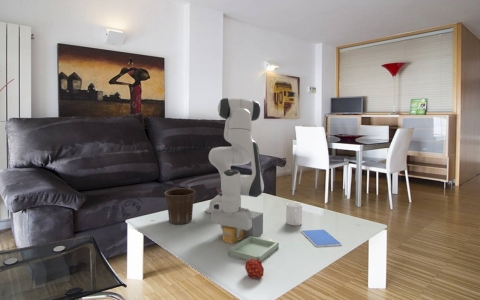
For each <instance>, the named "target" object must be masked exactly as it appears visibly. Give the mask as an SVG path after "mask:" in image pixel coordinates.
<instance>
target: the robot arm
mask: <svg viewBox="0 0 480 300" xmlns="http://www.w3.org/2000/svg"><path fill="white" fill-rule="evenodd" d="M261 111H262V108H261V104H260V102H258V101H257V100H250V99H245V98H228V97H226V98H225V97H223V98H222V99H220V100H219V103H218V105H217V113H218V115H219V116H220V118H222V119H225V123H224V124H225V125H224V131H223V138H224V140H225V141H226V142H228V143H229V144H231V146H218V147H213V148H211V150H210V151H209V153H208V160H209V162H210V164H211V165H212V166H213V167H215V168H216V169H217V170H218V173H219V176H220V184H221V185H220V188H219V189H217V192H216V193H218V194H217V195H216V196H215V197H214V198H212V199H211V200H210V201H209V205H208V207H206V208H205V210H204V211H205V212H206V213H208V214H209V213H210V220H211V223H212V224H215V225H218V226H219V225H220V228H221V231H222V232H223V228H224V227H225V226H228V227H233V228H237V231H238V232H237V233H235V237H236V238H239V237H240V232H241V231H242V230H249V229H251V228H252V218H251V216H252V213H251V211H252V210H250V209H249V208H245V207H242V198H241V197H242V196H246V197H251V198H252V197H253V198H257V197H259V196H261V195H262V194H263V192H264V188H265V185H264V179H263V175H262V166H261V157H260V148H259V146H258V143H257V141H255V140H254V139H253V136H252V131H253V130H252V124H253V123H252V122H255V121H257V120H258V119H259V118H260V115H261ZM250 163H251V164H250ZM247 164H250V165H251V172H252V173H251V174H250V175H249V174H241V173H240V171H239V170H238V169H233V168H231V167H232V166H243V165H244V166H245V165H247Z"/></svg>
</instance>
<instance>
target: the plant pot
mask: <svg viewBox="0 0 480 300" xmlns="http://www.w3.org/2000/svg"><path fill="white" fill-rule="evenodd" d="M164 195H165V201H166V205H167V212H168V213H167V214H168V222H169V223H170V224H172V225H186V223H187V224H189V223H191V222H192V221H193V209H194V200H195V195H196V190H194V189H190V188H172V189H168V190H166V191H165V192H164Z"/></svg>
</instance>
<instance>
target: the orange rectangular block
mask: <svg viewBox="0 0 480 300" xmlns="http://www.w3.org/2000/svg"><path fill="white" fill-rule="evenodd" d="M237 232H238V231H237V228H233V227H228V226H227V227H224V228H223V231H222V242H224V243H227V244H234V243H235V242H237V241H239V240H241V239H244V230H242V231H241V232H240V237H239V238H236V237H235V233H237Z"/></svg>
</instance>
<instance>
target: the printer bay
mask: <svg viewBox="0 0 480 300" xmlns="http://www.w3.org/2000/svg"><path fill="white" fill-rule="evenodd" d="M250 211H251V213H252V216H251V218H252V228H251V229H249V230H244V237H243V239H246V238H248V237H249V236H252V237H257V238H259V236H261V235H262V234H263V232H264V212H260V211H254V210H250ZM225 227H227V226H225Z"/></svg>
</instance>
